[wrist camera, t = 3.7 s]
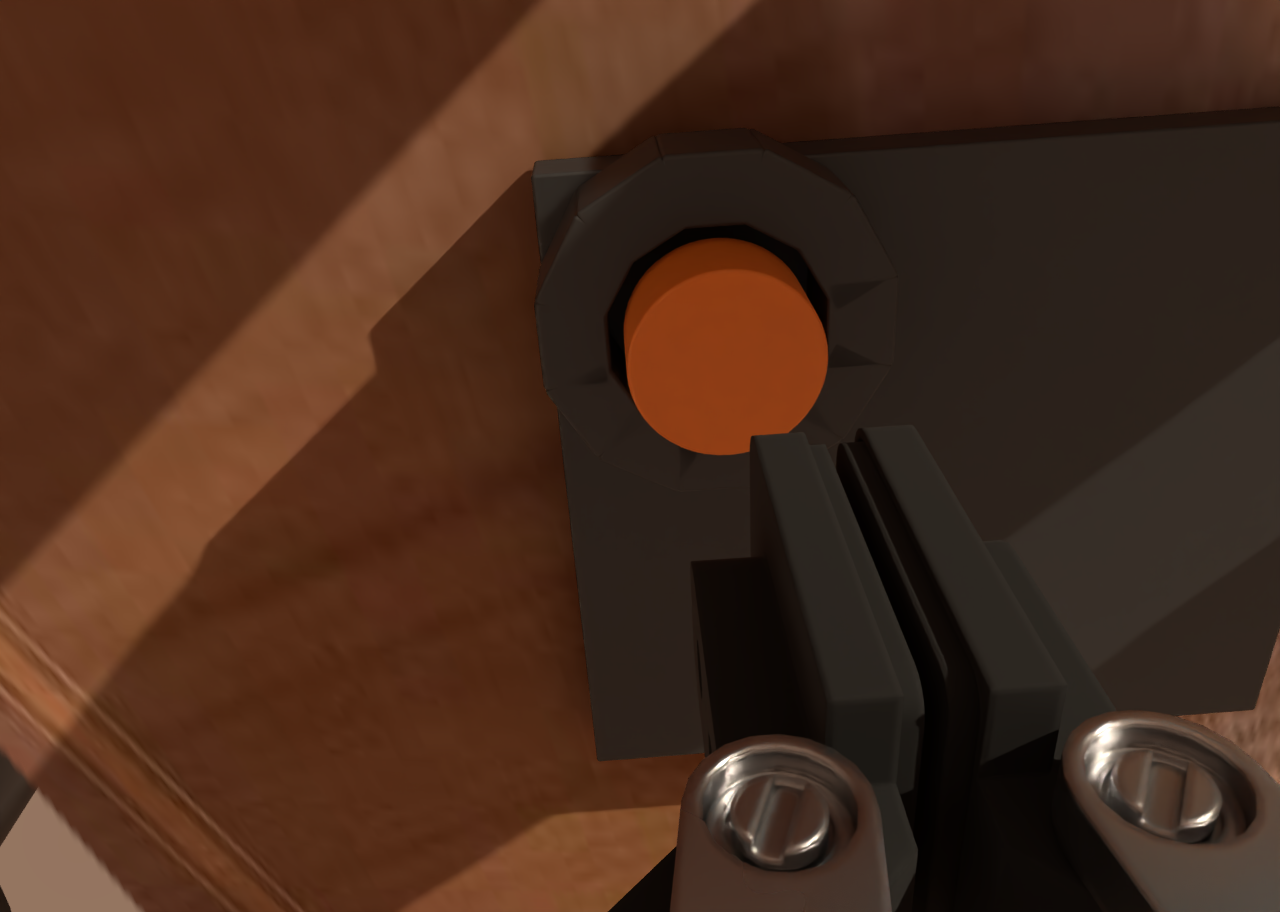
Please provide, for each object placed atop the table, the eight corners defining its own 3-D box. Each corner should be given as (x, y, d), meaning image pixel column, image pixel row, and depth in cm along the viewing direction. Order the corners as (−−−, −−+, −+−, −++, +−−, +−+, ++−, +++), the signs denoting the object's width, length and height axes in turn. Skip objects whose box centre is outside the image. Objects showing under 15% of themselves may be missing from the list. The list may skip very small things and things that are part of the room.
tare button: (629, 416, 18) (633, 463, 16) (616, 243, 16) (619, 277, 15) (806, 403, 18) (826, 449, 16) (809, 229, 16) (832, 261, 15)
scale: (595, 727, 25) (595, 822, 22) (528, 129, 18) (516, 165, 15) (1227, 677, 25) (1302, 766, 22) (1404, 65, 18) (1542, 91, 15)
